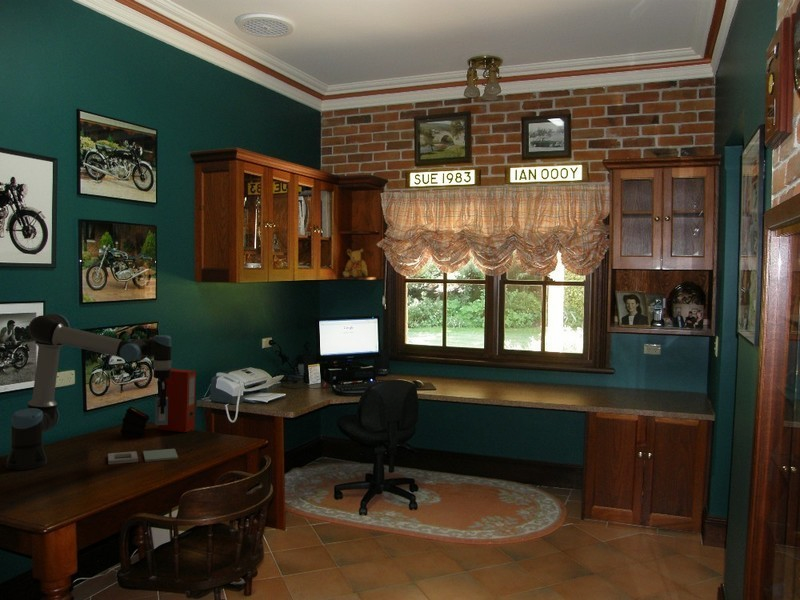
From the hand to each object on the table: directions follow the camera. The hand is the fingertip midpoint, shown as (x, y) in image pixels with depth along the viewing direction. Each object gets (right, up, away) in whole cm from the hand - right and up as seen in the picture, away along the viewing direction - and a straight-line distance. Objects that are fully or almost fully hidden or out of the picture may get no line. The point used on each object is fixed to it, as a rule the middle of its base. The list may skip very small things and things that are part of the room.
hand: (161, 418), depth 296 cm
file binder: (-10, -15, +49) cm, 52 cm away
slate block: (0, -2, 0) cm, 2 cm away
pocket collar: (-15, -17, -6) cm, 24 cm away
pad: (-1, -17, +1) cm, 17 cm away
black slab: (-25, -15, +32) cm, 43 cm away
